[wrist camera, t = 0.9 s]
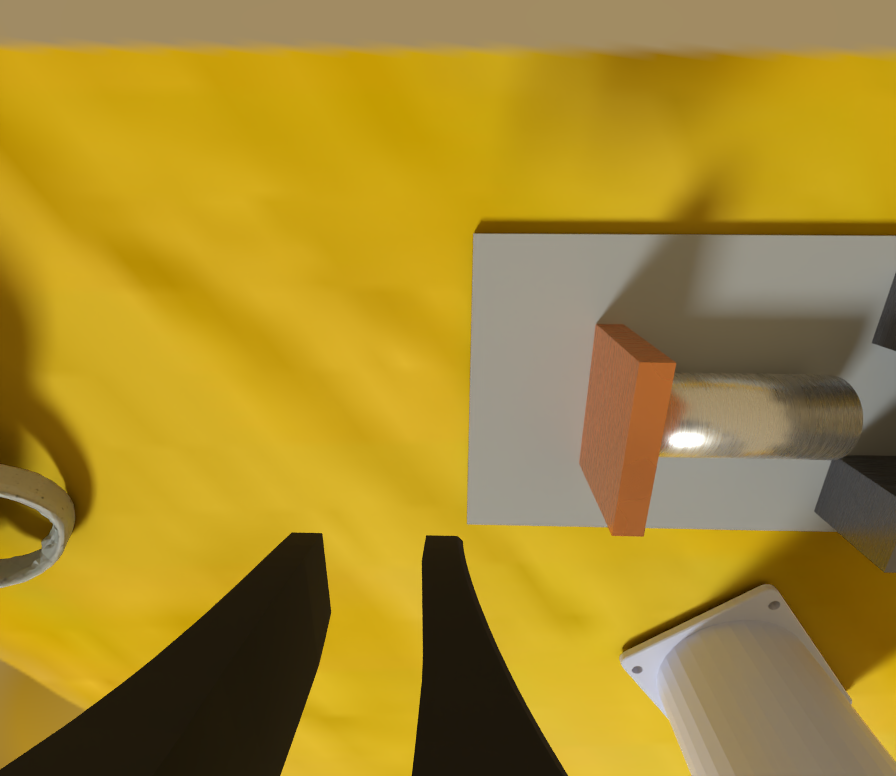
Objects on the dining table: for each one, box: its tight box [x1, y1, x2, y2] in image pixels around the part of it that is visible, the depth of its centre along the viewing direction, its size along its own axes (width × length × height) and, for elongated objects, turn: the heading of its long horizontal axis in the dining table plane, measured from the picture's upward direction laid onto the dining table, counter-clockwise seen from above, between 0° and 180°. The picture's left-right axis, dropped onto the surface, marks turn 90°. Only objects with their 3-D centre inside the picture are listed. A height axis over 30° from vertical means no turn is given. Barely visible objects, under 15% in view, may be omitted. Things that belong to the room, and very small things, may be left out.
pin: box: [579, 324, 863, 536], centre depth 16 cm, size 8×6×4 cm
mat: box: [467, 233, 896, 532], centre depth 18 cm, size 22×12×1 cm, turn 90°
